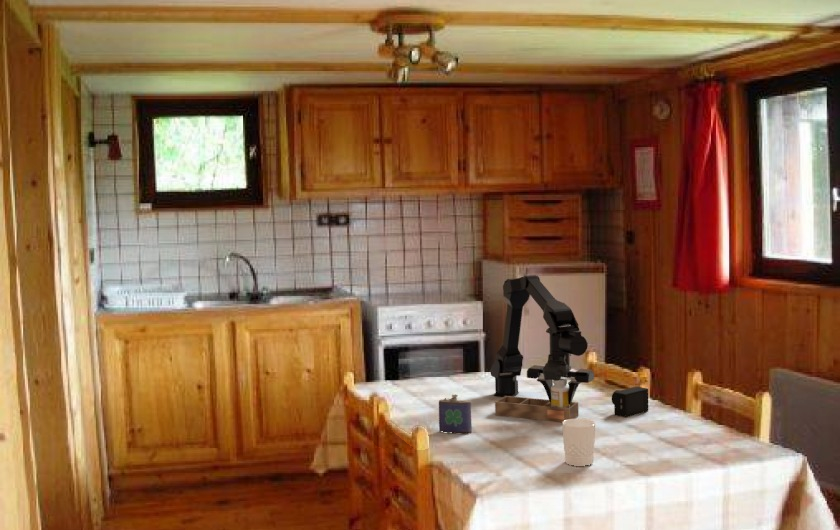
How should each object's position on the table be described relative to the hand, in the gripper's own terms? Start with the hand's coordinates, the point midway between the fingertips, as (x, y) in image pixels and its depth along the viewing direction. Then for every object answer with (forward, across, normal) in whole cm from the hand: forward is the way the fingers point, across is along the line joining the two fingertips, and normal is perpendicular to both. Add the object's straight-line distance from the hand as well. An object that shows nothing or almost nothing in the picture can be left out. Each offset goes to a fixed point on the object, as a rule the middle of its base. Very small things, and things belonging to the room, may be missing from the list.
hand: (560, 402), depth 259 cm
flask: (+5, -22, -25) cm, 34 cm away
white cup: (+4, +18, -38) cm, 42 cm away
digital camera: (+5, +17, +13) cm, 22 cm away
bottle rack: (+4, -7, 0) cm, 9 cm away
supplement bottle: (+3, 0, 0) cm, 3 cm away
